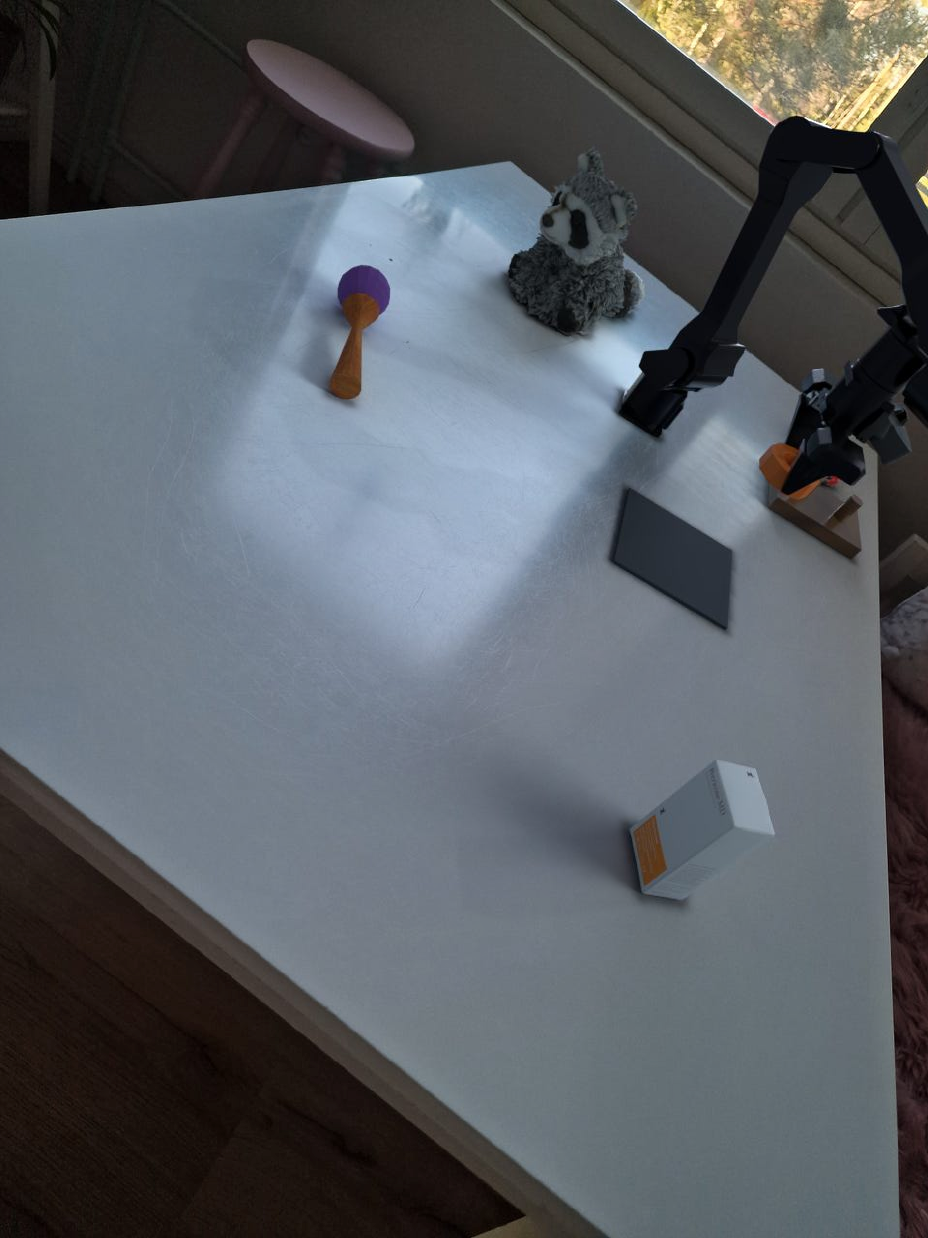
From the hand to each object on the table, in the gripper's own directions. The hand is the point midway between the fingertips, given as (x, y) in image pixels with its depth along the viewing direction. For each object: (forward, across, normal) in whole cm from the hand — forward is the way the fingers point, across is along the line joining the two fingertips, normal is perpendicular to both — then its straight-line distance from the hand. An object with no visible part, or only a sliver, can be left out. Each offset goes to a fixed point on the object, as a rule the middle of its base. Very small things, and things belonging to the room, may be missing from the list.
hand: (783, 476), depth 118 cm
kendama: (+10, -8, +51) cm, 53 cm away
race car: (+10, +32, -16) cm, 37 cm away
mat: (+10, -12, +8) cm, 17 cm away
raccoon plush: (+10, +34, +30) cm, 47 cm away
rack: (+10, +16, -13) cm, 23 cm away
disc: (0, 0, 0) cm, 0 cm away
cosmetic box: (+10, -55, +7) cm, 56 cm away
